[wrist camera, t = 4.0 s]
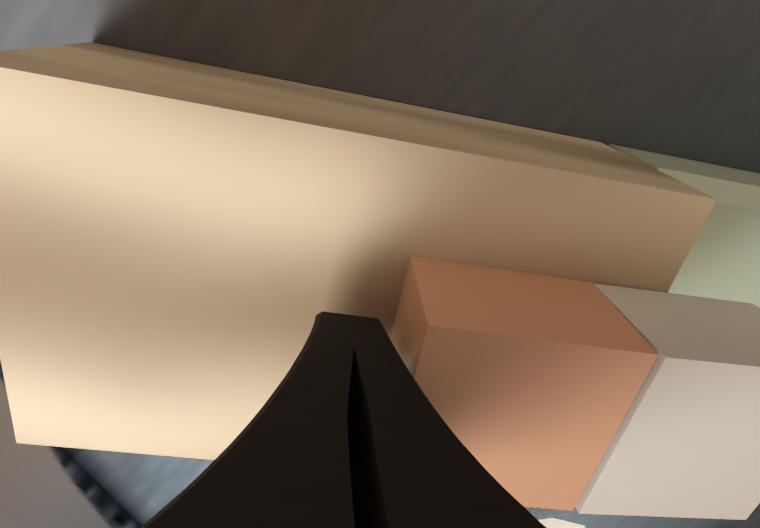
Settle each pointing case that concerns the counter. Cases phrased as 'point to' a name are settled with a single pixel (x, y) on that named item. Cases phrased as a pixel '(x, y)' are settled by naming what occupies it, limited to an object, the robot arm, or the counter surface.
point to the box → (717, 229)
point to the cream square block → (686, 413)
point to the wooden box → (262, 232)
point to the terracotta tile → (521, 371)
